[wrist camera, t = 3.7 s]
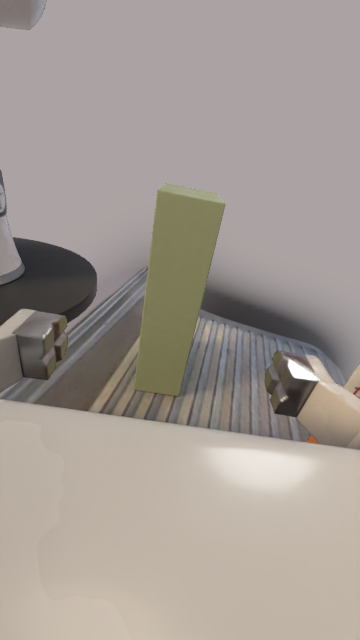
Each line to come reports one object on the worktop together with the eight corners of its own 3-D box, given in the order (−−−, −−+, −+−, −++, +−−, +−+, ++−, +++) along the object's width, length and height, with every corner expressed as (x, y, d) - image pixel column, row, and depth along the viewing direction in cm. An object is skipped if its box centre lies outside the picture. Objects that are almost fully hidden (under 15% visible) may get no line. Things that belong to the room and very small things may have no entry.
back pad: (133, 390, 23) (157, 189, 15) (143, 348, 28) (165, 183, 20) (178, 396, 23) (225, 203, 15) (180, 354, 29) (216, 193, 20)
